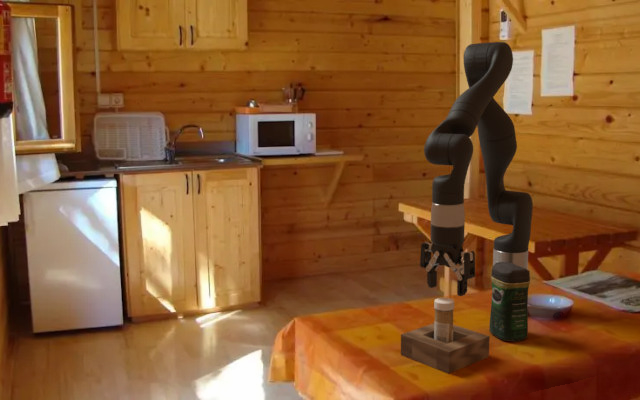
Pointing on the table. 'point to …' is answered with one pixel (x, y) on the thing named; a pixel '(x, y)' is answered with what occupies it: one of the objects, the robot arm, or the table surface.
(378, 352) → the table surface
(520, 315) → the coffee jar
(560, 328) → the table surface
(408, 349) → the well block
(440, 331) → the sprinkles bottle
